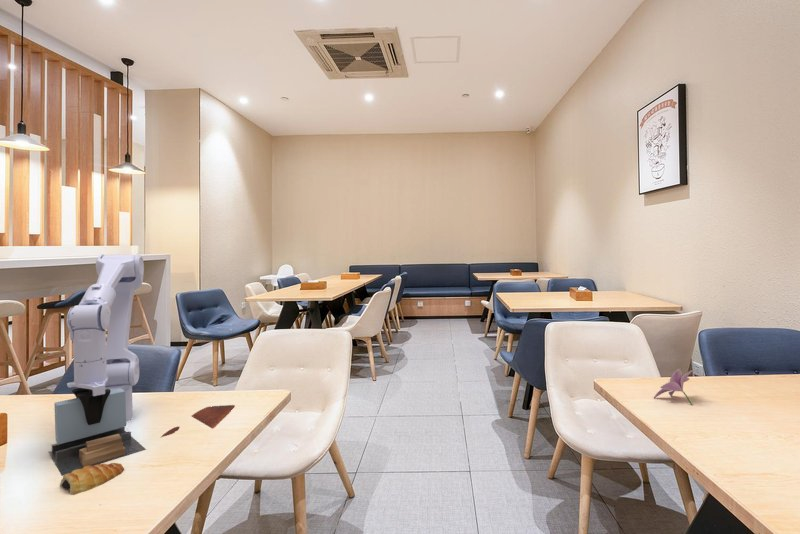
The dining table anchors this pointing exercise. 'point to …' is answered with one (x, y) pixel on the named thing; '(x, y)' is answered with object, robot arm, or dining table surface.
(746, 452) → the dining table surface
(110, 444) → the offcuts
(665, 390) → the lily
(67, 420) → the pale blue upright panel
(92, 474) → the pastry
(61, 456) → the metal plate
